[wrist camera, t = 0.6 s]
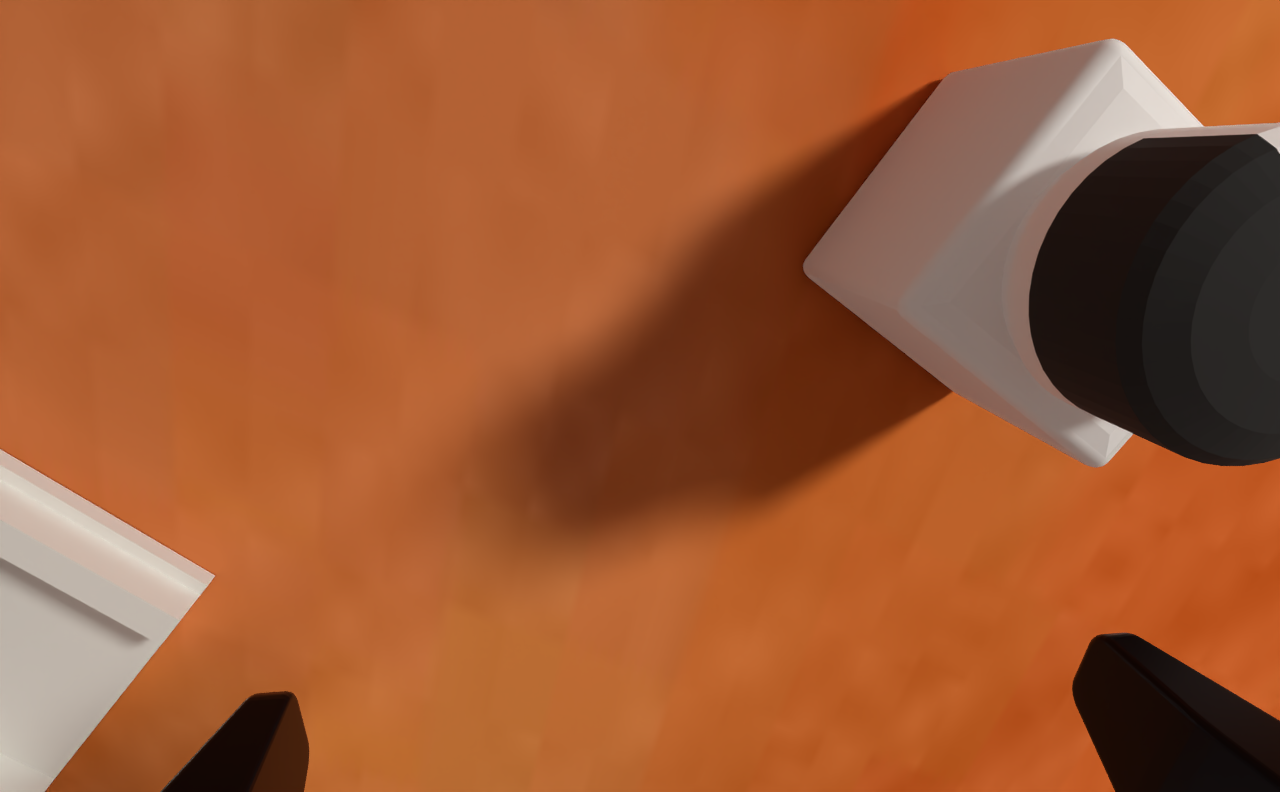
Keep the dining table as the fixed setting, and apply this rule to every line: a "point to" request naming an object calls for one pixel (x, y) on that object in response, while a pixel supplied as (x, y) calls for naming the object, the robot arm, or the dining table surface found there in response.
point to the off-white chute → (73, 618)
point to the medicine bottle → (1077, 257)
